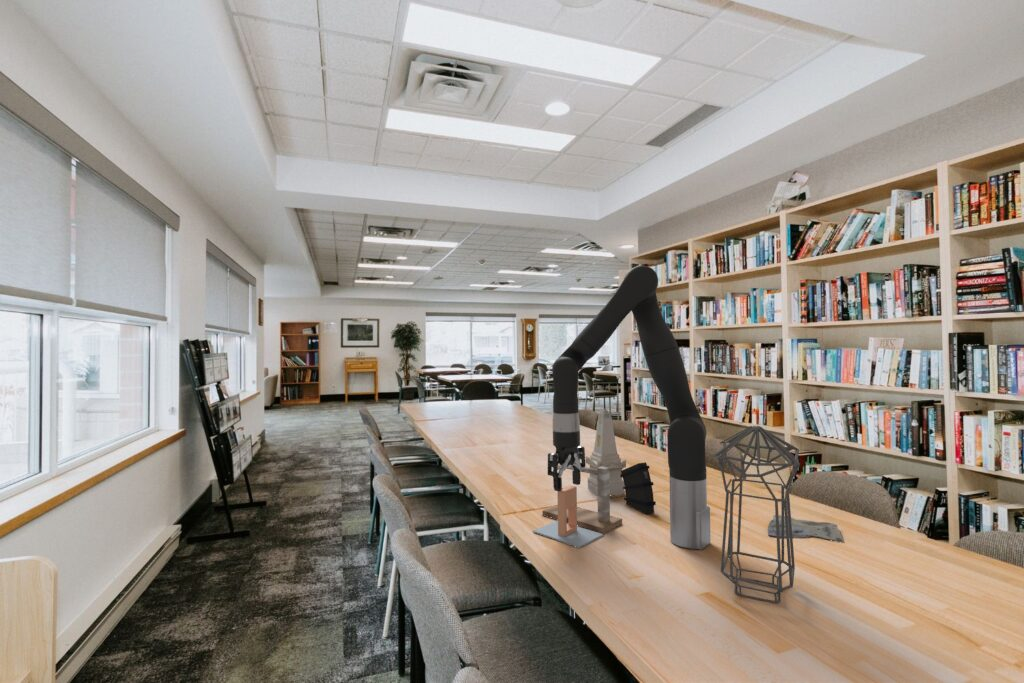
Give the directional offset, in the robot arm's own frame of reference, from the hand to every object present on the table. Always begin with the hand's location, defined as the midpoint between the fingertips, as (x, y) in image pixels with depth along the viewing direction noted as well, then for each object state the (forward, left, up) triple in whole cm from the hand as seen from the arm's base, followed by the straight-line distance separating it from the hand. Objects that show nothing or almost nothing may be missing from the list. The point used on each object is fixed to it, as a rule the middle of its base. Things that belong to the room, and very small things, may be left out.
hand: (567, 487), depth 135 cm
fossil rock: (-47, -45, -14) cm, 67 cm away
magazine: (-3, -33, -13) cm, 36 cm away
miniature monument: (+14, -41, -13) cm, 46 cm away
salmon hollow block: (0, 0, -13) cm, 13 cm away
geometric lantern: (-49, -1, -13) cm, 51 cm away
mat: (0, 0, -13) cm, 13 cm away
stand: (+4, -12, -13) cm, 18 cm away
